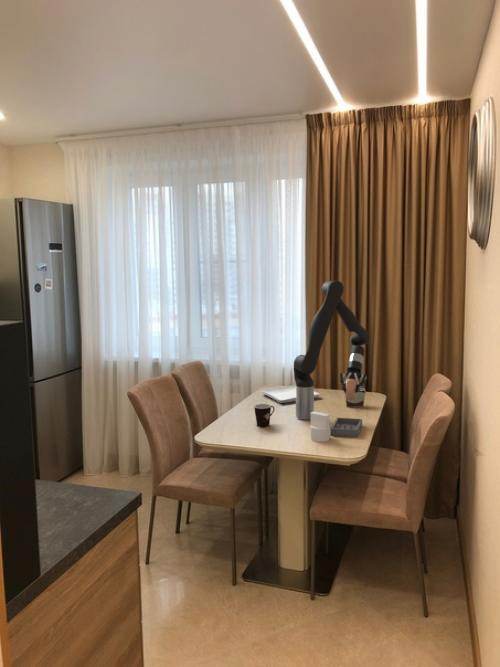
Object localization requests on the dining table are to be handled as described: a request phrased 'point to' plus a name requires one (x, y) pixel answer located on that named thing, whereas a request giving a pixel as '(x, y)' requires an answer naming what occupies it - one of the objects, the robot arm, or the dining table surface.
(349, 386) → the tan upright block
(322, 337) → the robot arm
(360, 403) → the food container
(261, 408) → the coffee mug
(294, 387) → the closed laptop
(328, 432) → the cylinder with rectangular tab
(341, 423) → the tray
